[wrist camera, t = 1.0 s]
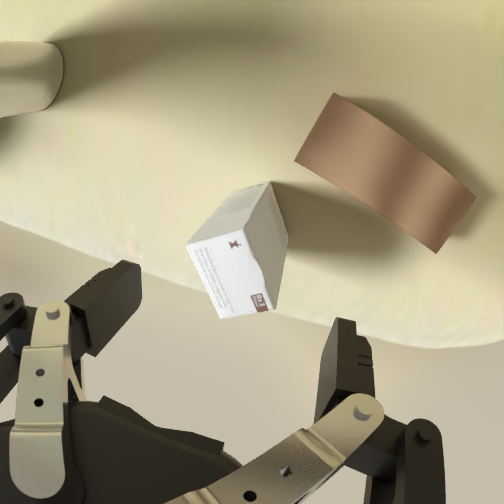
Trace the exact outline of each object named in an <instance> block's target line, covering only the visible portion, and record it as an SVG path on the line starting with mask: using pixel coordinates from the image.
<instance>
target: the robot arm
mask: <svg viewBox="0 0 504 504" xmlns="http://www.w3.org/2000/svg"><path fill="white" fill-rule="evenodd" d="M62 78H63V58H62V55H61V52H60V50H59V49H58V47H57V46H55V45H54V44H51V43H40V42H22V41H0V118H2V117H7V116H13V115H19V114H24V113H30V112H36V111H41V110H43V109H45V108H46V107H48V106H49V105H50V104H51V102H52V101H53V100H54V98H55V97H56V95H57V93H58V91H59V88H60V85H61V82H62ZM141 299H142V285H141V267H140V265H139V264H136V263H132V262H129V261H126V260H121V261H120V262H119V263H117V264H116V265H115V266H114V267H113V268H108V269H105V270H103V271H100V272H99V273H97V274H96V275H95V276H94V277H92V279H91V280H89V281H88V282H86V283H85V285H83V286H81V287H80V288H79V289H78V290H77V291H75V292H74V293H73V294H72V295H71V296H69V297H68V298H67V299H66V300H65V301H64V302H63V301H60V300H52V301H48V302H45V303H43V304H42V305H41V306H40V307H39V308H35V307H29V306H25V303H24V300H23V297H22V296H21V295H20V294H17V293H7V294H4V295H2V296H1V297H0V340H1V339H2V338H3V337H4V336H5V337H6V339H7V341H8V344H9V345H8V346H7V347H6V348H5V349H4V350H3V351H2V352H1V353H0V403H1V402H2V401H3V400H4V398H5V397H6V396H7V395H8V393H9V392H10V391H11V390H12V389H13V387H14V386H15V385H16V383H17V382H18V388H17V399H16V413H15V419H13V420H10V421H6V422H2V423H0V504H301V503H302V502H303V501H304V500H306V499H307V498H308V497H309V496H310V495H311V494H313V493H314V492H315V491H316V490H317V489H318V488H320V487H321V486H322V485H323V484H324V483H325V482H326V481H328V480H329V479H330V478H331V477H332V476H333V475H334V474H336V473H337V472H338V471H339V470H340V469H341V468H342V467H343V466H344V465H345V466H348V467H350V468H352V469H354V470H357V471H359V472H362V473H364V474H366V475H367V480H366V488H365V497H364V503H363V504H446V494H445V471H444V456H443V446H442V436H441V433H440V431H439V429H438V428H437V426H436V425H434V424H433V423H432V422H430V421H429V420H425V419H415V420H413V421H411V422H410V423H409V424H408V425H406V424H403V423H401V422H398V421H396V420H394V419H391V418H389V417H388V416H386V415H385V414H384V409H383V407H382V405H381V404H380V403H379V401H378V400H376V399H375V386H374V372H373V368H372V367H373V361H372V350H371V346H370V344H369V343H368V341H367V339H366V338H365V337H363V336H358V335H357V333H356V322H355V321H352V320H347V319H343V318H338V317H336V319H335V321H334V323H333V326H332V329H331V332H330V334H329V336H328V339H327V341H326V344H325V347H324V350H323V353H322V357H321V363H320V374H319V383H318V393H317V402H316V409H315V417H314V425H312V426H311V427H310V428H308V429H307V430H305V429H299V430H298V431H296V432H295V433H293V434H292V435H290V436H289V437H287V438H286V439H284V440H283V441H281V442H280V443H278V444H277V445H275V446H274V447H272V448H271V449H269V450H268V451H266V452H265V453H263V454H262V455H260V456H259V457H257V458H256V459H254V460H252V461H251V462H249V463H247V464H246V465H244V466H242V464H241V463H239V462H238V461H237V460H236V459H235V458H233V457H232V456H231V455H229V454H227V453H226V452H224V451H223V447H224V442H221V441H218V440H215V439H211V438H208V437H205V436H202V435H199V434H196V433H193V432H187V431H180V430H173V429H166V428H160V427H156V426H154V425H153V424H151V423H150V422H149V421H147V420H146V419H145V418H143V417H142V416H140V415H139V414H138V413H136V412H135V411H134V410H132V409H131V408H130V407H127V406H125V405H123V404H121V403H119V402H117V401H114V400H112V399H110V398H108V397H106V396H103V397H102V398H101V400H100V401H99V402H92V401H86V398H85V388H84V371H83V359H82V356H83V355H84V354H85V352H86V353H88V354H90V355H92V356H94V357H96V356H97V355H98V354H99V352H100V351H101V350H102V349H103V348H104V347H105V345H106V344H107V343H108V342H109V341H110V340H111V339H112V337H113V336H114V335H115V334H116V333H117V332H118V330H119V329H120V328H121V327H122V326H123V325H124V324H125V323H126V322H127V320H128V319H129V318H130V317H131V316H132V315H133V314H134V313H135V311H136V310H137V309H138V308H139V306H140V303H141Z"/></svg>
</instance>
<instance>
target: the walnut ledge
mask: <svg viewBox="0 0 504 504" xmlns="http://www.w3.org/2000/svg"><path fill="white" fill-rule="evenodd" d="M294 161H295V162H297V163H299V164H300V165H302V166H304V167H306V168H307V169H309V170H311V171H312V172H314V173H316V174H317V175H319V176H321V177H322V178H324V179H326V180H327V181H329V182H331V183H332V184H334V185H336V186H337V187H339V188H340V189H342V190H344V191H345V192H347V193H348V194H350V195H352V196H353V197H355V198H356V199H358V200H359V201H361V202H363V203H364V204H366V205H367V206H369V207H370V208H372V209H373V210H375V211H376V212H378V213H379V214H381V215H382V216H384V217H385V218H387V219H388V220H390V221H391V222H392V223H394V224H395V225H397V226H398V227H400V228H401V229H403V230H404V231H405V232H407V233H408V234H410V235H411V236H412V237H414V238H415V239H417V240H418V241H419V242H421V243H422V244H423V245H425V246H426V247H428V248H429V249H430V250H432V251H433V252H434V253H436V254H437V252H438V251H439V250H440V248H441V247H442V246H443V244H444V243H445V242H446V240H447V239H448V237H449V236H450V235H451V233H452V232H453V230H454V229H455V228H456V226H457V225H458V223H459V222H460V220H461V219H462V218H463V216H464V215H465V213H466V212H467V210H468V209H469V207H470V206H471V204H472V203H473V201H474V199H475V198H476V196H475V195H474V194H473V193H471V192H470V191H469V190H468V189H467V188H466V187H465V186H464V185H463V184H461V183H460V182H459V181H458V180H457V179H456V178H455V177H453V176H452V175H451V174H450V173H449V172H447V171H446V170H445V169H444V168H443V167H441V166H440V165H439V164H438V163H436V162H435V161H434V160H433V159H431V158H430V157H429V156H428V155H426V154H425V153H424V152H423V151H421V150H420V149H419V148H417V147H416V146H415V145H413V144H412V143H411V142H409V141H408V140H406V139H405V138H404V137H402V136H401V135H399V134H398V133H397V132H395V131H394V130H392V129H391V128H389V127H388V126H387V125H385V124H384V123H382V122H381V121H379V120H378V119H376V118H375V117H373V116H372V115H370V114H368V113H367V112H365V111H364V110H362V109H361V108H359V107H357V106H356V105H354V104H352V103H351V102H349V101H347V100H346V99H344V98H342V97H341V96H339V95H337V94H336V93H333V94H332V96H331V97H330V99H329V101H328V102H327V104H326V106H325V108H324V109H323V111H322V113H321V114H320V116H319V118H318V120H317V121H316V123H315V125H314V127H313V128H312V130H311V132H310V133H309V135H308V137H307V139H306V140H305V142H304V144H303V146H302V147H301V149H300V151H299V153H298V154H297V156H296V158H295V160H294Z"/></svg>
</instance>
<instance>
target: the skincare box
mask: <svg viewBox="0 0 504 504" xmlns="http://www.w3.org/2000/svg"><path fill="white" fill-rule="evenodd" d="M288 239H289V235H288V232H287V229H286V226H285V223H284V220H283V217H282V214H281V211H280V208H279V205H278V202H277V199H276V196H275V193H274V190H273V187H272V185H271V182H265V183H262V184H258V185H255V186H251V187H248V188H245V189H242V190H239V191H236V192H233V193H231V194H230V195H229V196H228V197H227V199H226V200H225V201H224V202H223V203H222V204H221V205H220V206H219V207H218V208H217V209H216V211H215V212H214V213H213V214H212V215H211V216H210V217H209V218H208V219H207V221H206V222H205V223H204V224H203V225H202V226H201V227H200V229H199V230H198V231H197V232H196V233H195V235H194V236H193V237H192V238H191V239H190V240H189V241H188V242H187V244H186V247H187V250H188V252H189V254H190V256H191V258H192V260H193V262H194V264H195V267H196V269H197V271H198V273H199V275H200V277H201V279H202V281H203V283H204V285H205V287H206V290H207V292H208V294H209V296H210V298H211V300H212V302H213V304H214V306H215V308H216V310H217V312H218V314H219V316H220V318H221V319H225V318H231V317H236V316H242V315H247V314H253V313H258V312H264V311H269V310H274V309H276V305H277V300H278V295H279V289H280V284H281V278H282V273H283V267H284V262H285V256H286V250H287V245H288Z"/></svg>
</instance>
